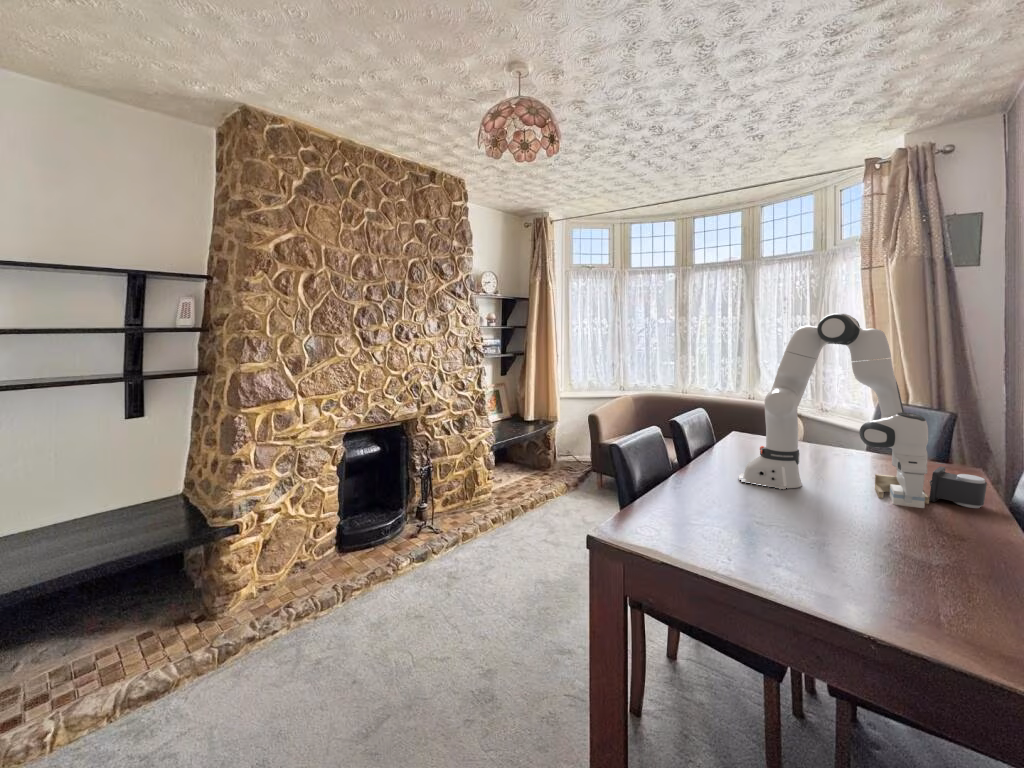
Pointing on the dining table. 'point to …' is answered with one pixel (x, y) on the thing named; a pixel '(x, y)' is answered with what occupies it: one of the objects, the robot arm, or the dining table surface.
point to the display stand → (888, 485)
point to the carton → (897, 499)
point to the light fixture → (958, 488)
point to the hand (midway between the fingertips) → (907, 501)
